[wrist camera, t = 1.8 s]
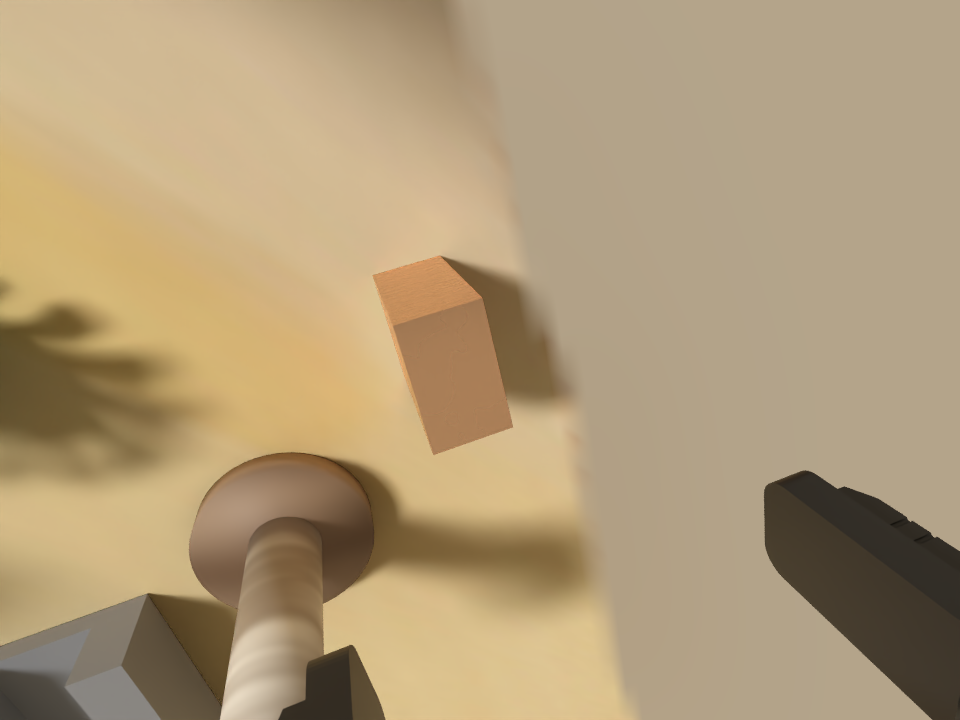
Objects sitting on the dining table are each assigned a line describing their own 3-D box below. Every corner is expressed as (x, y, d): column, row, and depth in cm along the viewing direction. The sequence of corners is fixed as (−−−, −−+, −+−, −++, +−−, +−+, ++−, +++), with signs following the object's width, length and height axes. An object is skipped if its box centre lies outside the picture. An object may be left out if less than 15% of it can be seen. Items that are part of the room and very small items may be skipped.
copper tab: (372, 275, 24) (393, 325, 18) (439, 255, 24) (482, 298, 18) (405, 377, 26) (433, 455, 20) (466, 357, 27) (513, 427, 20)
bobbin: (164, 488, 25) (0, 874, 12) (341, 429, 26) (367, 722, 13) (236, 614, 28) (170, 1022, 15) (391, 556, 30) (450, 890, 17)
